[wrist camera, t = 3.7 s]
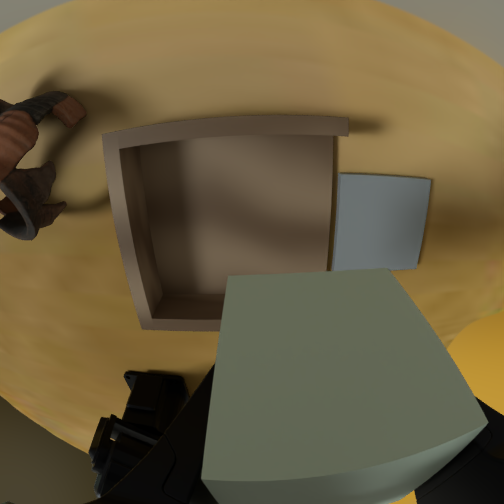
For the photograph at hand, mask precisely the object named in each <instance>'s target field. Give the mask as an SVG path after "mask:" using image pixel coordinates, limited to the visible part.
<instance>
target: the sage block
mask: <svg viewBox="0 0 504 504" xmlns="http://www.w3.org/2000/svg"><path fill="white" fill-rule="evenodd" d="M488 423H489V422H488V421H487V419H486V417H485V415H484V413H483V411H482V409H481V407H480V405H479V403H478V402H477V400H476V398H475V396H474V395H473V393H472V391H471V389H470V388H469V386H468V384H467V382H466V381H465V379H464V377H463V376H462V374H461V372H460V371H459V369H458V367H457V366H456V364H455V362H454V361H453V359H452V358H451V356H450V355H449V353H448V351H447V350H446V348H445V347H444V345H443V344H442V342H441V341H440V339H439V338H438V336H437V335H436V333H435V332H434V330H433V329H432V327H431V326H430V324H429V323H428V322H427V320H426V319H425V317H424V316H423V315H422V313H421V312H420V310H419V309H418V308H417V306H416V305H415V303H414V302H413V301H412V299H411V298H410V297H409V295H408V294H407V293H406V291H405V290H404V289H403V287H402V286H401V285H400V283H399V282H398V281H397V280H396V278H395V277H394V276H393V274H392V273H391V272H390V271H389V269H388V268H376V269H360V270H343V271H325V272H306V273H284V274H261V275H234V276H228V280H227V286H226V293H225V299H224V306H223V313H222V320H221V327H220V334H219V341H218V348H217V355H216V363H215V370H214V377H213V385H212V393H211V400H210V408H209V416H208V424H207V433H206V441H205V449H204V458H203V467H202V476H201V480H202V481H203V483H204V484H205V485H206V487H207V488H208V490H209V491H210V492H211V494H212V495H213V497H214V498H215V499H216V501H217V502H218V503H219V504H389V503H392V502H395V501H398V500H400V499H402V498H403V497H405V496H406V495H408V494H409V493H410V492H412V491H413V490H415V489H416V488H417V487H419V486H420V485H421V484H423V483H424V482H425V481H427V480H428V479H429V478H430V477H432V476H433V475H434V474H435V473H437V472H438V471H439V470H440V469H441V468H443V467H444V466H445V465H446V464H447V463H448V462H450V461H451V460H452V459H453V458H454V457H455V456H456V455H457V454H458V453H459V452H461V451H462V450H463V449H464V448H465V447H466V446H467V445H468V444H469V443H470V442H471V441H472V440H473V439H474V438H475V437H476V436H477V435H478V434H479V432H480V431H481V430H482V429H483V428H484V427H485V426H486V425H487V424H488Z"/></svg>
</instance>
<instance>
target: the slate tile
mask: <svg viewBox="0 0 504 504" xmlns="http://www.w3.org/2000/svg"><path fill="white" fill-rule="evenodd" d="M430 185H431V180H430V179H427V178H420V177H409V176H396V175H381V174H362V173H338V190H337V209H336V224H335V237H334V249H333V260H332V271H343V270H360V269H376V268H388V269H389V271H390V270H405V269H416V267H417V263H418V258H419V253H420V249H421V244H422V238H423V233H424V227H425V221H426V215H427V208H428V201H429V193H430Z"/></svg>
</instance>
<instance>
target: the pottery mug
mask: <svg viewBox="0 0 504 504" xmlns="http://www.w3.org/2000/svg"><path fill="white" fill-rule="evenodd" d="M49 113H52V114H54V115H55V116H57V117H58V118H59V119H60V120H61V121H62V122H63V123H64V124H65V125H66V126H67V127H68V128H72V127H73V126H74V125H75V124H77V123H78V121H79V120H80V119H82V118H83V117H85V116H86V111H85V110H84V108H83V107H82V105H81V104H79V103H78V102H77V101H76V100H75V99H73V98H72V97H70V96H68V95H67V94H65V93H62V92H58V91H51V92H47V93H45V94H43V95H40V96H37V97H34V98H32V99H27V100H25V101H23V102H20V103H16V104H15V105H13V104H10V103H8V102H5V101H3V100H1V99H0V189H1V190H2V192H3V193H4V194H5V195H6V197H5V198H4V199H2V200H1V201H0V213H1V214H2V215H4V217H3V218H2V219H1V220H0V228H1V229H2V230H3V231H5V232H6V233H8V234H9V235H11V236H13V237H15V238H18V239H21V240H33V239H34V238H35V237H36V236H37V234H38V231H39V228H43V227H46V226H49V225H51V224H52V223H53V222H54V220H55V219H56V217H57V216H58V215H59V214H60V213H61V212H62V211H63V209H64V208H65V206H66V205H67V203H66V202H65V201H63V202H60V203H57V204H44V203H45V202H46V201H47V200H48V197H49V195H50V192H51V187H52V183H53V182H54V180H55V178H56V172H55V167H54V164H53V162H52V161H48V162H47V163H45V164H44V165H42V166H41V167H40V168H37V167H36V168H30V169H16V166H17V164H18V163H19V161H20V160H21V159H22V158H23V156H24V155H25V154H26V153H27V152H28V151H29V150H31V149H32V148H33V147H34V145H35V144H36V141H37V139H38V135H39V132H38V128H37V126H36V125H37V124H39V123H40V121H41V120H42V119H43V118H44V116H45V115H47V114H49Z"/></svg>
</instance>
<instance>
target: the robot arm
mask: <svg viewBox="0 0 504 504" xmlns="http://www.w3.org/2000/svg"><path fill="white" fill-rule="evenodd" d="M215 363H216V362H215ZM214 370H215V364H214V365H213V367H212V368H211V369H210V371H209V372H208V374H207V375H206V376H205V378H204V379H203V381H202V382H201V383H200V385H199V386H198V388H197V389H196V390H195V392H194V393H193V394H192V396H191V397H190V396H189V393H188V390H187V387H186V384H185V381H184V379H183V378H182V377H179V376H167V375H155V374H144V373H135V372H125V374H124V378H125V380H126V382H127V384H128V386H129V388H130V390H131V393H130V396H129V399H128V401H127V404H126V409H125V412H124V414H123V417H122V419H119V418H117V416H115V415H113V414H111V416H110V418H108V417H107V418H105V417H101V419H100V421H99V424H98V426H97V429H96V432H95V434H94V437H93V440H92V443H91V446H90V449H89V452H88V453H89V455H90V457H91V459H92V462H91V463H92V464H93V466H92V471H93V472H96V473H98V475H97V478H96V482H95V485H94V491H95V494H96V497H97V499H96V500H93V501H90V502H87V503H84V504H219V503H218V502H217V501H216V499H215V498H214V497H213V495H212V494H211V492H210V491H209V490H208V488H207V487H206V485H205V484H204V483H203V481H202V480H201V476H202V467H203V458H204V449H205V441H206V433H207V424H208V416H209V408H210V400H211V393H212V385H213V377H214ZM475 398H476V400H477V402H478V403H479V405H480V407H481V409H482V411H483V413H484V415H485V417H486V419H487V421H488V422H489V423H488V424H487V425H486V426H485V427H484V428H483V429H482V430H481V431H480V432H479V434H478V435H477V436H476V437H475V438H474V439H473V440H472V441H471V442H470V443H469V444H468V445H467V446H466V447H465V448H464V449H463V450H462V451H461V452H459V453H458V454H457V455H456V456H455V457H454V458H453V459H452V460H451V461H450V462H448V463H447V464H446V465H445V466H444V467H443V468H441V469H440V470H439V471H438V472H437V473H435V474H434V475H433V476H432V477H430V478H429V479H428V480H427V481H425V482H424V483H423V484H421V485H420V486H419V487H417V488H416V489H415V490H414V491H415V495H416V499H417V504H504V415H502V414H500V413H499V412H497V411H496V410H494V409H492V408H491V407H489V406H488V405H487V404H485V403H484V402H482V401H481V400H479V399H478V398H477V397H475ZM110 438H112V439H114V440H115V441H113V440H111V439H110ZM2 504H14V503H12V502H10V501H8V502H5V503H2Z"/></svg>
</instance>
